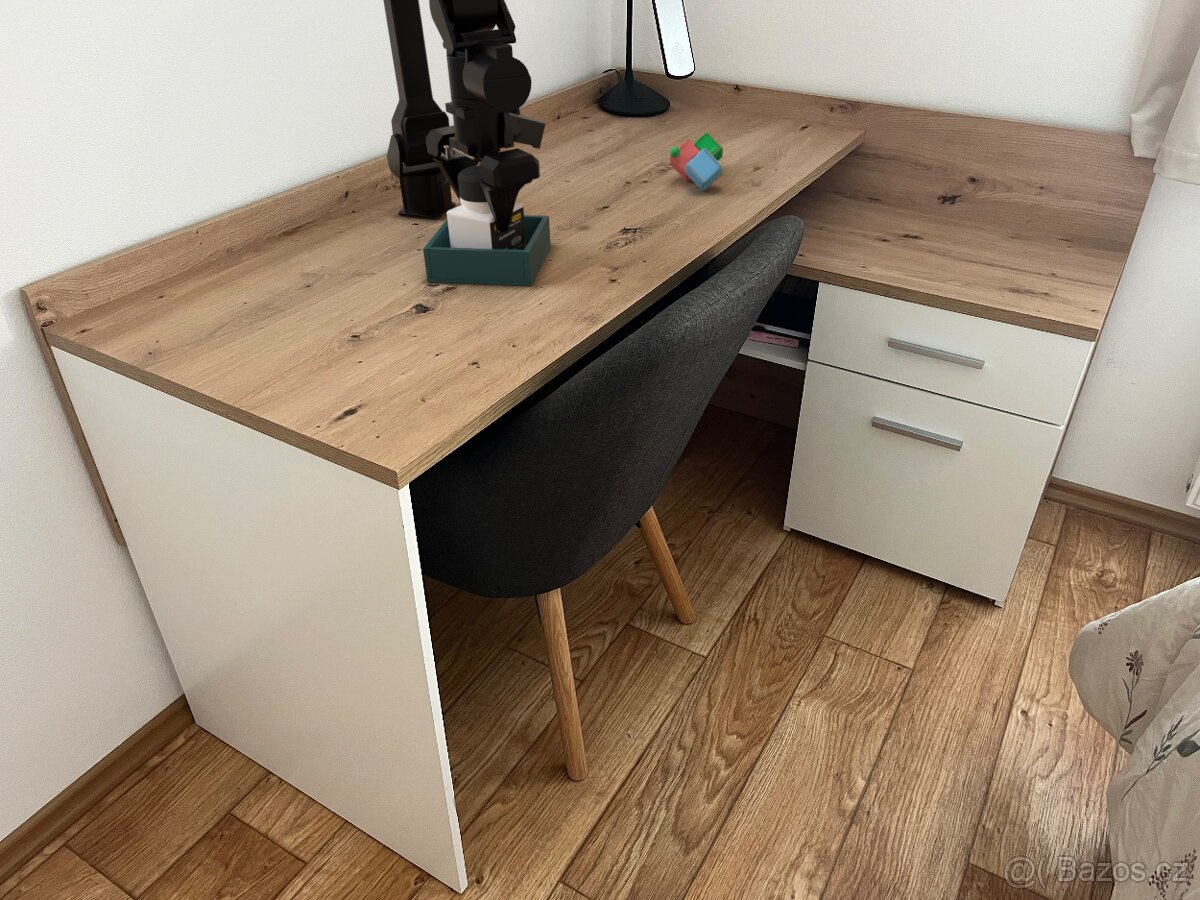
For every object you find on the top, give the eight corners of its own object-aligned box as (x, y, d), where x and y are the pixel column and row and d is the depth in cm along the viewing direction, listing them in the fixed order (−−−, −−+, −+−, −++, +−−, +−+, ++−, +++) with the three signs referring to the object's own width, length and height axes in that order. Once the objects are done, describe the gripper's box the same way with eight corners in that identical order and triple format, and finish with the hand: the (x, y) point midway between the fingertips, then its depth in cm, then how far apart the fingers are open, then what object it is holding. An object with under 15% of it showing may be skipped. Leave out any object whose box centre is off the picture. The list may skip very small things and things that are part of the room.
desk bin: (427, 282, 119) (422, 248, 116) (455, 244, 129) (451, 213, 127) (531, 286, 117) (528, 251, 114) (550, 247, 127) (549, 215, 125)
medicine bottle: (495, 275, 119) (486, 181, 112) (451, 264, 122) (440, 172, 115) (528, 256, 124) (521, 165, 117) (485, 246, 127) (476, 157, 120)
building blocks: (703, 206, 153) (702, 183, 141) (669, 171, 154) (666, 145, 142) (739, 173, 153) (741, 147, 141) (705, 138, 154) (705, 109, 142)
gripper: (574, 98, 109) (579, 228, 117) (495, 71, 122) (505, 190, 130) (490, 114, 103) (502, 248, 112) (417, 84, 116) (432, 207, 125)
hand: (486, 221), depth 120 cm, fingers closed on medicine bottle, 8 cm apart
